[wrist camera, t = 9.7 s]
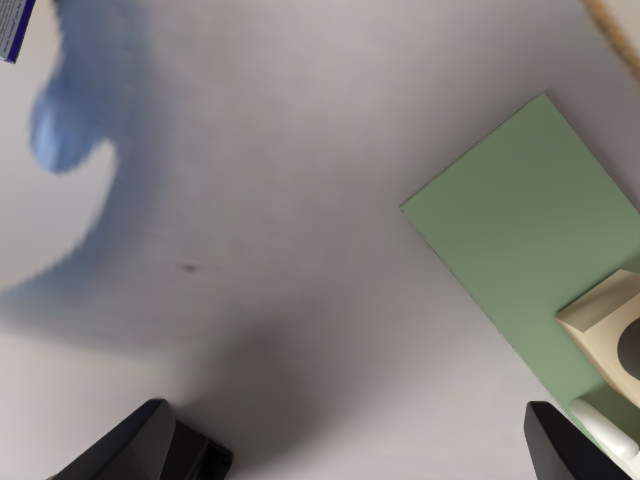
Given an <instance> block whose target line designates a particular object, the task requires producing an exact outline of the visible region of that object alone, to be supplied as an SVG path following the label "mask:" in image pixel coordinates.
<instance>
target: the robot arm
mask: <svg viewBox="0 0 640 480" xmlns="http://www.w3.org/2000/svg"><path fill="white" fill-rule="evenodd" d="M524 433H525V437H526V441H527V444H528V448H529V451H530V455H531V458H532V462H533V465H534V469H535V472H536V476H537V479H538V480H633V479H632V478H631V477H630V476H629V475H628V474H627V473H625V472H624V471H623V470H622V469H621V468H620V467H619V466H618V465H617V464H616V463H615V462H614V461H612V460H611V459H610V458H609V457H608V456H607V455H606V454H605V453H604V452H603V451H602V450H600V449H599V448H598V447H597V446H596V445H595V444H594V443H593V442H592V441H591V440H590V439H589V438H587V437H586V436H585V435H584V434H583V433H582V432H581V431H580V430H579V429H578V428H577V427H576V426H574V425H573V424H572V423H571V422H570V421H569V420H568V419H567V418H566V417H565V416H564V415H562V414H561V413H560V412H559V411H558V410H557V409H556V408H555V407H554V406H553V405H552V404H550V403H549V402H546V401H529V402H528V403H527V407H526V414H525V420H524ZM222 458H226V459H227V460H228V461H224V460H223V459H222ZM233 460H234V455H233V453H232V452H231V451H229V450H227V449H226V448H224V447H222V446H220V445H219V444H217V443H215V442H213V441H212V440H210V439H208V438H206V437H205V436H203V435H201V434H199V433H198V432H196V431H194V430H193V429H191V428H189V427H187V426H186V425H184V424H182V423H180V422H179V421H177V420H175V418H174V415H173V413H172V411H171V409H170V407H169V404H168V402H167V401H166V400H165V399H150V400H148V401H147V402H145V403H144V404H143V405H142V406H140V407H139V408H138V409H137V410H135V411H134V412H133V413H132V414H131V415H129V416H128V417H127V418H126V419H124V420H123V421H122V422H121V423H119V424H118V425H117V426H116V427H115V428H113V429H112V430H111V431H110V432H108V433H107V434H106V435H105V436H103V437H102V438H101V439H100V440H98V441H97V442H96V443H95V444H94V445H92V446H91V447H90V448H89V449H87V450H86V451H85V452H84V453H82V454H81V455H80V456H79V457H78V458H76V459H75V460H74V461H73V462H71V463H70V464H69V465H68V466H66V467H65V468H64V469H63V470H62V471H60V472H59V473H58V474H56V475H54V476H51V477H49V478H47V479H46V480H223V479H224V477H225V476H226V474H227V472H228V471H229V469H230V467H231V465H232V463H233Z"/></svg>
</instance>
